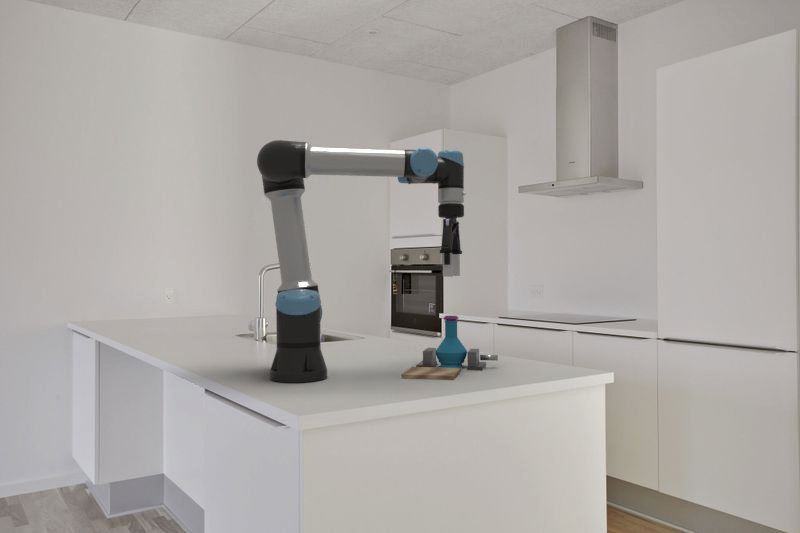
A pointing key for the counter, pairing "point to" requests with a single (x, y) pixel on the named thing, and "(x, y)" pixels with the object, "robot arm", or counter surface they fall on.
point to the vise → (472, 359)
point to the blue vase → (451, 346)
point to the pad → (432, 373)
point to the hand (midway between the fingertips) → (451, 276)
